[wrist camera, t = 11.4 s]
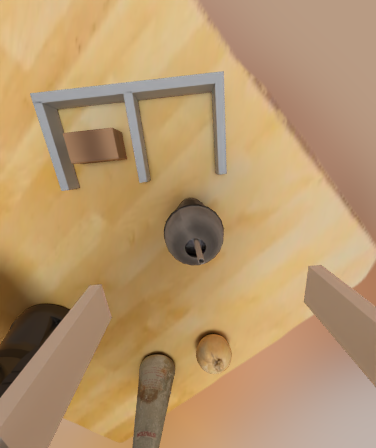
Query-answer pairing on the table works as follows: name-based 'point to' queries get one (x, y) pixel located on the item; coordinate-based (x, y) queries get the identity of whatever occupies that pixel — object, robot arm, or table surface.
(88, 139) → the walnut bar
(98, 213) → the table surface
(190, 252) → the beverage cup
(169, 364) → the bottle
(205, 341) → the onion
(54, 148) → the slot rack
